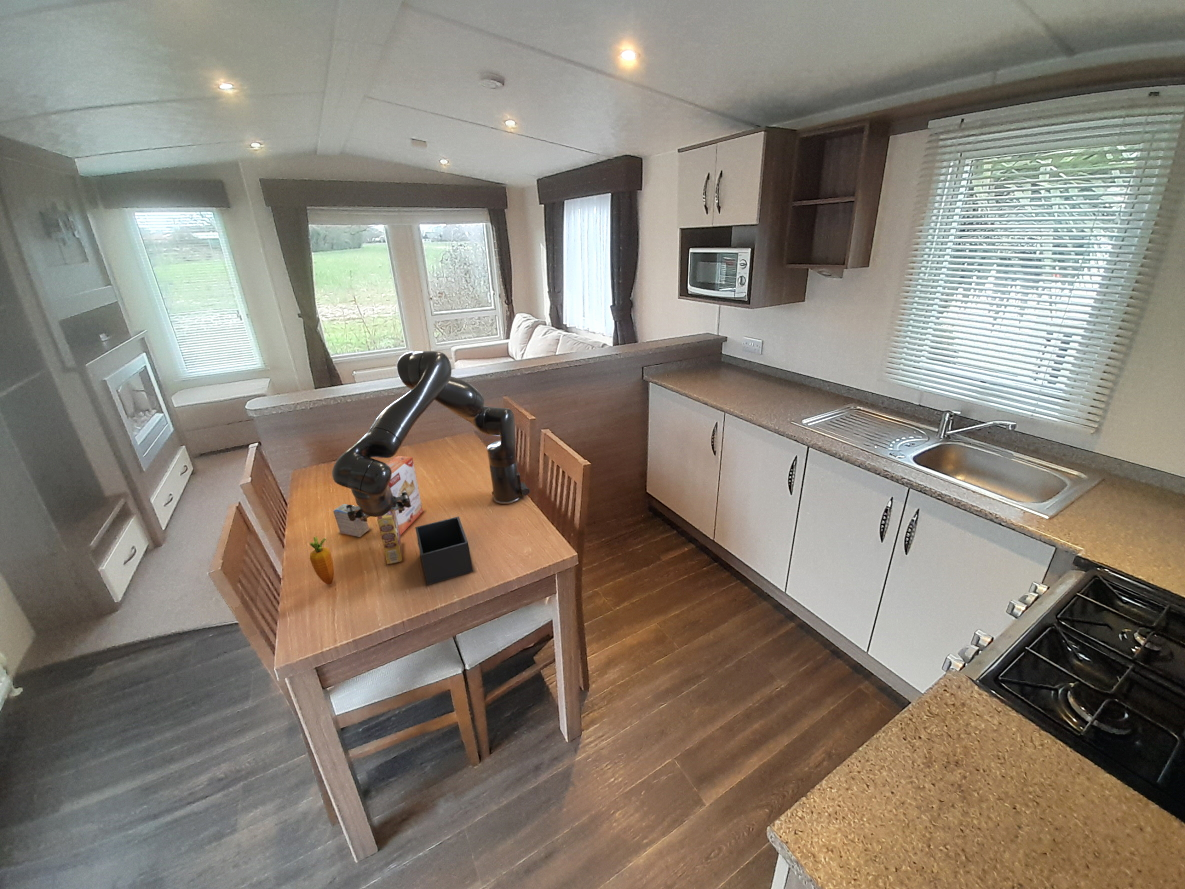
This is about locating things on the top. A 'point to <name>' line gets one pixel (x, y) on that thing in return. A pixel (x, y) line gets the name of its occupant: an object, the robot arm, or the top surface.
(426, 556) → the waste bin
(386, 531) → the candy box
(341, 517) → the medicine box
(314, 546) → the carrot
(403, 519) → the cracker box
